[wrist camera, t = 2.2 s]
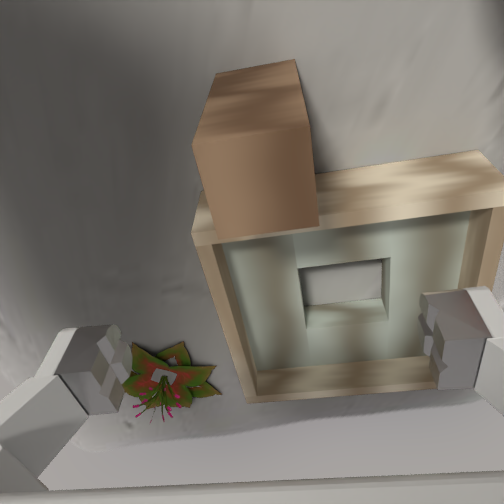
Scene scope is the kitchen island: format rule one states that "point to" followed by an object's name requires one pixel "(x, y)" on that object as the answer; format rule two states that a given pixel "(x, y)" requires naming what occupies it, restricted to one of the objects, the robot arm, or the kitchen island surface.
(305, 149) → the peg
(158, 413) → the kitchen island surface
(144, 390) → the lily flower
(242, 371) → the peg box
